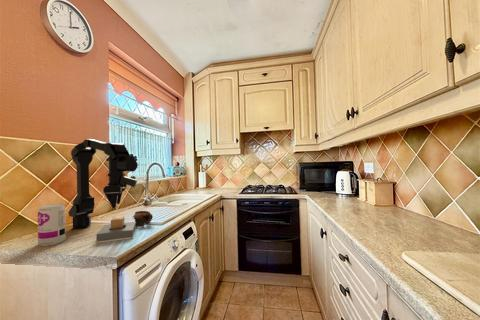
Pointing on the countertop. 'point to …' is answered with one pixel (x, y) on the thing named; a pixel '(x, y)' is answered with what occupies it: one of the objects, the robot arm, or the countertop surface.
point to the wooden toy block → (117, 223)
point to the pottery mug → (142, 218)
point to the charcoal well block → (116, 233)
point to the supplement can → (51, 224)
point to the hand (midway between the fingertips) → (116, 205)
